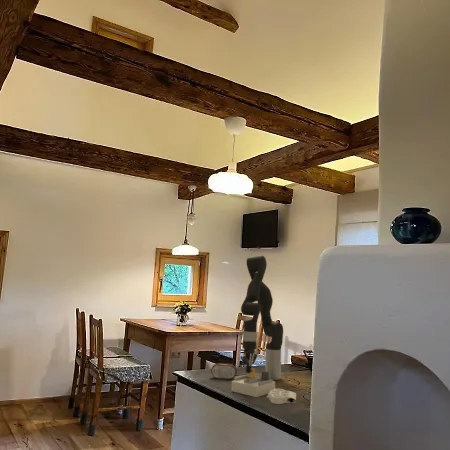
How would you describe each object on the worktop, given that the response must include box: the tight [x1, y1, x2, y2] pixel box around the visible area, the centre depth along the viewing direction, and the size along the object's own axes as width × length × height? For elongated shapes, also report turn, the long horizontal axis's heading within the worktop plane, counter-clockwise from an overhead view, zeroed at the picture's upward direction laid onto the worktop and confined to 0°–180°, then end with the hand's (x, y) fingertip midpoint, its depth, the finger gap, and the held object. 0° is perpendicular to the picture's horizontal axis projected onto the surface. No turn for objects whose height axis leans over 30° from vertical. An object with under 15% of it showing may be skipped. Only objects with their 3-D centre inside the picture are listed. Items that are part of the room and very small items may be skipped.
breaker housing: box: [230, 374, 276, 398], centre depth 235 cm, size 17×16×6 cm
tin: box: [210, 362, 238, 380], centre depth 262 cm, size 15×3×8 cm, turn 84°
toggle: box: [260, 370, 270, 381], centre depth 236 cm, size 3×4×5 cm
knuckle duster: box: [265, 388, 297, 405], centre depth 222 cm, size 3×18×15 cm
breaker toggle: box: [246, 367, 256, 378], centre depth 242 cm, size 3×4×5 cm
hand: (248, 372), depth 240 cm, fingers closed
